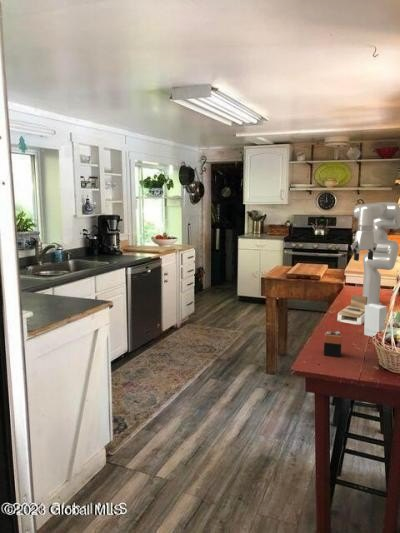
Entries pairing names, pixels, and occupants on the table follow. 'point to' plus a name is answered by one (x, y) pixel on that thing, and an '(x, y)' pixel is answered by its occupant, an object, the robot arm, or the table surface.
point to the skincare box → (374, 319)
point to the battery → (332, 344)
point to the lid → (355, 307)
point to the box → (351, 319)
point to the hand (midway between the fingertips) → (363, 260)
